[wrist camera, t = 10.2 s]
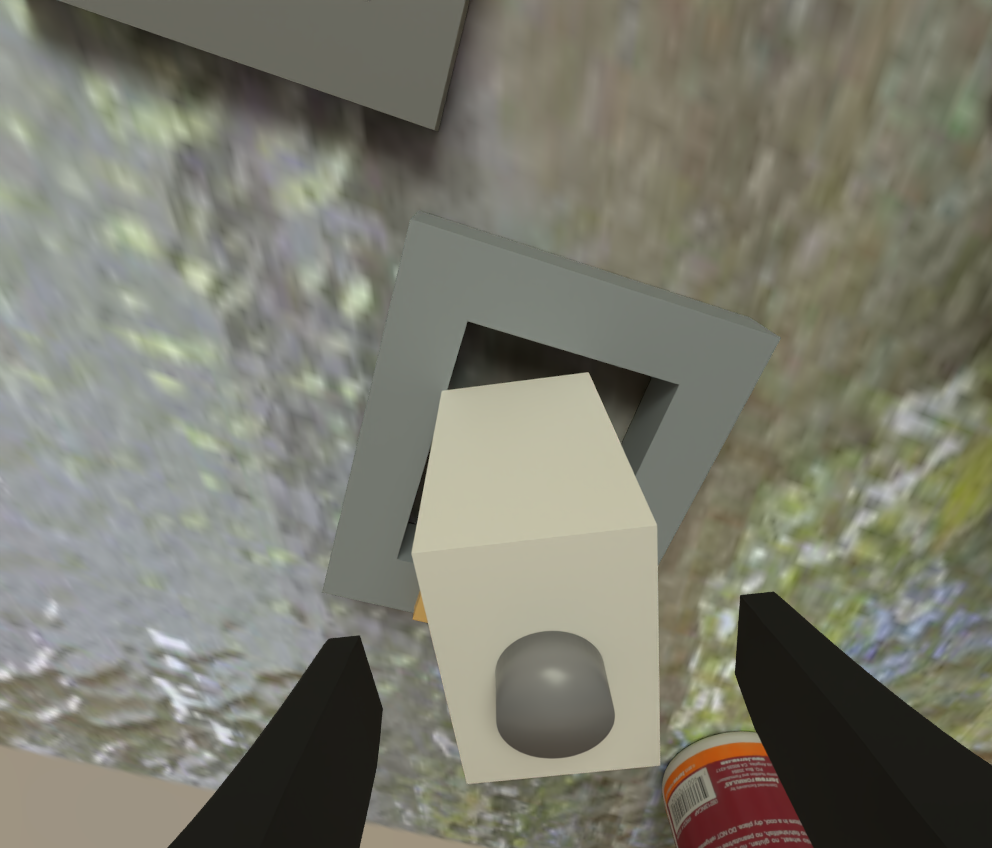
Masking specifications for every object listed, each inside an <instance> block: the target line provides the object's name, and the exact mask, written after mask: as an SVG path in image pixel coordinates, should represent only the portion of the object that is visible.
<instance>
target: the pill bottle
mask: <svg viewBox="0 0 992 848" xmlns="http://www.w3.org/2000/svg"><path fill="white" fill-rule="evenodd" d="M662 794H663V799H664V804H665V808H666V812H667V816H668V820H669V823H670V826H671V830H672V834H673V838H674V841H675V845H676V848H813V846H812V844H811V842H810V840H809V838H808V836H807V834H806V832H805V830H804V828H803V826H802V824H801V822H800V820H799V818H798V816H797V814H796V812H795V810H794V808H793V806H792V804H791V802H790V800H789V798H788V796H787V794H786V792H785V790H784V788H783V785H782V783H781V781H780V779H779V777H778V775H777V773H776V771H775V769H774V767H773V765H772V763H771V761H770V759H769V757H768V755H767V753H766V751H765V749H764V747H763V745H762V743H761V741H760V738H759V736H758V734H757V733H756V732H748V731H739V732H727V733H722V734H717V735H713V736H710V737H707V738H704V739H702V740H699V741H697V742H695V743H693V744H691V745H690V746H688V747H686V748H685V749H683V750H682V751H681V752H680V753H678V754H677V755H676V756H675V757H674V758H673V759H672V761H671V762H670V763H669V765H668V766H667V768H666V770H665V773H664V777H663V782H662Z"/></svg>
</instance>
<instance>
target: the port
mask: <svg viewBox="0 0 992 848" xmlns="http://www.w3.org/2000/svg"><path fill="white" fill-rule="evenodd" d="M467 321H468V322H472V323H475V324H478V325H482V326H485V327H488V328H492V329H495V330H498V331H502V332H505V333H508V334H512V335H515V336H518V337H522V338H525V339H528V340H532V341H535V342H538V343H542V344H545V345H548V346H552V347H555V348H558V349H562V350H565V351H568V352H572V353H575V354H578V355H582V356H585V357H588V358H592V359H595V360H598V361H602V362H605V363H608V364H612V365H615V366H618V367H622V368H625V369H628V370H632V371H635V372H638V373H642V374H645V375H648V376H652V378H651V380H650V383H649V385H648V387H647V389H646V391H645V394H644V396H643V398H642V400H641V402H640V405H639V407H638V409H637V411H636V413H635V416H634V418H633V420H632V422H631V424H630V427H629V429H628V431H627V433H626V435H625V438H624V440H623V442H622V444H621V446H622V448H623V450H624V452H625V455H626V457H627V459H628V461H629V464H630V466H631V468H632V470H633V472H634V475H635V477H636V479H637V481H638V484H639V486H640V488H641V490H642V493H643V495H644V497H645V499H646V502H647V504H648V506H649V508H650V510H651V513H652V515H653V517H654V519H655V522H656V524H657V549H658V565H659V563H660V561H661V559H662V557H663V555H664V554H665V552H666V550H667V548H668V546H669V544H670V542H671V541H672V539H673V537H674V535H675V533H676V531H677V529H678V528H679V526H680V524H681V522H682V520H683V518H684V516H685V515H686V513H687V511H688V509H689V507H690V505H691V504H692V502H693V500H694V498H695V496H696V494H697V492H698V491H699V489H700V487H701V485H702V483H703V481H704V479H705V478H706V476H707V474H708V472H709V470H710V468H711V466H712V465H713V463H714V461H715V459H716V457H717V455H718V453H719V452H720V450H721V448H722V446H723V444H724V442H725V441H726V439H727V437H728V435H729V433H730V431H731V429H732V428H733V426H734V424H735V422H736V420H737V418H738V416H739V415H740V413H741V411H742V409H743V407H744V405H745V403H746V402H747V400H748V398H749V396H750V394H751V392H752V390H753V389H754V387H755V385H756V383H757V381H758V379H759V378H760V376H761V374H762V372H763V370H764V368H765V366H766V365H767V363H768V361H769V359H770V357H771V355H772V353H773V352H774V350H775V348H776V346H777V344H778V342H779V340H780V339H781V338H780V337H779V336H777V335H776V334H774V333H773V332H771V331H770V330H768V329H767V328H765V327H764V326H762V325H761V324H759V323H757V322H756V321H754V320H753V319H751V318H750V317H747V316H743V315H740V314H737V313H734V312H731V311H728V310H725V309H722V308H719V307H716V306H713V305H709V304H706V303H703V302H700V301H697V300H694V299H691V298H688V297H685V296H682V295H679V294H675V293H672V292H669V291H666V290H663V289H660V288H657V287H654V286H651V285H648V284H645V283H641V282H638V281H635V280H632V279H629V278H626V277H623V276H620V275H617V274H614V273H611V272H607V271H604V270H601V269H598V268H595V267H592V266H589V265H586V264H583V263H580V262H577V261H574V260H570V259H567V258H564V257H561V256H558V255H555V254H552V253H549V252H546V251H543V250H540V249H536V248H533V247H530V246H527V245H524V244H521V243H518V242H515V241H512V240H509V239H506V238H502V237H499V236H496V235H493V234H490V233H487V232H484V231H481V230H478V229H475V228H472V227H468V226H465V225H462V224H459V223H456V222H453V221H450V220H447V219H444V218H441V217H438V216H434V215H431V214H428V213H425V212H422V211H418V212H417V213H416V214H415V215H414V216H413V217H412V218H411V219H410V223H409V227H408V231H407V235H406V239H405V244H404V248H403V252H402V256H401V261H400V265H399V269H398V273H397V278H396V282H395V286H394V290H393V295H392V299H391V303H390V307H389V311H388V316H387V320H386V324H385V328H384V333H383V337H382V341H381V345H380V350H379V354H378V358H377V362H376V367H375V371H374V375H373V379H372V383H371V388H370V392H369V396H368V400H367V405H366V409H365V413H364V417H363V422H362V426H361V430H360V434H359V439H358V443H357V447H356V451H355V455H354V460H353V464H352V468H351V472H350V477H349V481H348V485H347V489H346V494H345V498H344V502H343V506H342V511H341V515H340V519H339V523H338V527H337V532H336V536H335V540H334V544H333V549H332V553H331V557H330V561H329V566H328V570H327V574H326V578H325V583H324V587H323V591H322V593H326V594H331V595H335V596H340V597H344V598H349V599H353V600H358V601H362V602H367V603H371V604H376V605H380V606H385V607H389V608H393V609H398V610H402V611H407V612H411V613H414V614H413V620H417V621H421V622H426V623H428V621H427V616H426V612H425V608H424V604H423V600H422V596H421V591H420V587H419V583H418V579H417V575H416V571H415V567H414V562H413V558H412V554H411V553H412V548H413V542H414V537H415V531H416V526H417V525H414V524H410V523H408V520H409V516H410V513H411V510H412V506H413V503H414V500H415V496H416V493H417V490H418V486H419V483H420V479H421V476H422V473H423V469H424V466H425V463H426V459H427V456H428V453H429V449H430V446H431V442H432V439H433V435H434V430H435V425H436V419H437V414H438V409H439V403H440V398H441V393H442V391H444V390H447V389H448V385H449V382H450V379H451V375H452V372H453V368H454V365H455V362H456V358H457V355H458V352H459V348H460V345H461V342H462V338H463V335H464V331H465V328H466V325H467Z"/></svg>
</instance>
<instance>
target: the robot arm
mask: <svg viewBox="0 0 992 848" xmlns="http://www.w3.org/2000/svg"><path fill="white" fill-rule="evenodd" d="M735 675H736V678H737V681H738V684H739V687H740V689H741V692H742V695H743V698H744V701H745V704H746V706H747V709H748V712H749V714H750V717H751V720H752V722H753V725H754V728H755V730H756V732H757V734H758V736H759V738H760V741H761V743H762V745H763V747H764V749H765V751H766V753H767V755H768V757H769V759H770V761H771V763H772V765H773V767H774V769H775V771H776V773H777V775H778V777H779V779H780V781H781V783H782V785H783V788H784V790H785V792H786V794H787V796H788V798H789V800H790V802H791V804H792V806H793V808H794V810H795V812H796V814H797V816H798V818H799V820H800V822H801V824H802V826H803V828H804V830H805V832H806V834H807V836H808V838H809V840H810V842H811V844H812V846H813V848H992V765H991V764H989V763H988V762H986V761H985V760H983V759H982V758H980V757H979V756H977V755H976V754H974V753H973V752H971V751H970V750H969V749H967V748H966V747H964V746H963V745H961V744H960V743H959V742H957V741H956V740H954V739H953V738H952V737H950V736H949V735H948V734H946V733H945V732H943V731H942V730H941V729H940V728H938V727H937V726H936V725H934V724H933V723H932V722H930V721H929V720H928V719H926V718H925V717H924V716H922V715H921V714H920V713H918V712H917V711H916V710H914V709H913V708H912V707H910V706H909V705H908V704H907V703H905V702H904V701H903V700H901V699H900V698H899V697H898V696H896V695H895V694H894V693H893V692H891V691H890V690H889V689H888V688H886V687H885V686H884V685H883V684H881V683H880V682H879V681H878V680H877V679H875V678H874V677H873V676H872V675H870V674H869V673H868V672H867V671H866V670H864V669H863V668H862V667H861V666H859V665H858V664H857V663H856V662H855V661H853V660H852V659H851V658H850V657H849V656H847V655H846V654H845V653H844V652H843V651H841V650H840V649H839V648H838V647H837V646H836V645H835V644H833V643H832V642H831V641H830V640H829V639H828V638H826V637H825V636H824V635H823V634H822V633H821V632H819V631H818V630H817V629H816V628H815V627H814V626H813V625H811V624H810V623H809V622H808V621H807V620H806V619H805V618H804V617H802V616H801V615H800V614H799V613H798V612H797V611H796V610H794V609H793V608H792V607H791V606H790V605H789V604H788V603H786V602H785V601H784V600H783V599H782V598H781V597H780V596H778V595H777V594H776V593H775V592H766V593H756V594H747V595H740V606H739V621H738V636H737V651H736V665H735ZM382 711H383V708H382V705H381V702H380V698H379V695H378V692H377V689H376V686H375V682H374V679H373V676H372V673H371V670H370V666H369V663H368V660H367V657H366V654H365V651H364V647H363V644H362V641H361V638H360V635H359V636H350V637H340V638H331V639H328V640H327V641H326V643H325V644H324V645H323V647H322V648H321V650H320V651H319V652H318V654H317V655H316V657H315V658H314V660H313V661H312V663H311V664H310V666H309V667H308V668H307V670H306V671H305V673H304V674H303V676H302V677H301V679H300V680H299V681H298V683H297V684H296V686H295V687H294V689H293V690H292V692H291V693H290V694H289V696H288V697H287V699H286V700H285V701H284V703H283V704H282V706H281V707H280V708H279V710H278V711H277V713H276V714H275V715H274V717H273V718H272V719H271V721H270V722H269V724H268V725H267V726H266V728H265V729H264V730H263V732H262V733H261V734H260V736H259V737H258V739H257V740H256V741H255V743H254V744H253V745H252V747H251V748H250V749H249V751H248V752H247V753H246V754H245V756H244V757H243V758H242V759H241V761H240V762H239V763H238V764H237V766H236V767H235V768H234V770H233V771H232V772H231V773H230V775H229V776H228V777H227V778H226V780H225V781H224V782H223V783H222V785H221V786H220V787H219V788H218V790H217V791H216V792H215V793H214V795H213V796H212V797H211V798H210V799H209V801H208V802H207V803H206V805H204V807H203V808H202V809H201V810H200V811H199V813H198V814H197V815H196V816H195V817H194V818H193V820H192V821H191V822H190V823H189V824H188V825H187V827H186V828H185V829H184V830H183V831H182V832H181V833H180V834H179V835H178V837H177V838H176V839H175V840H174V841H173V842H172V843H171V844H170V845H169V847H168V848H360V843H361V838H362V834H363V829H364V825H365V820H366V816H367V811H368V806H369V801H370V797H371V792H372V787H373V782H374V778H375V773H376V768H377V761H378V752H379V743H380V733H381V722H382Z"/></svg>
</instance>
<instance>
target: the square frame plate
mask: <svg viewBox="0 0 992 848" xmlns="http://www.w3.org/2000/svg"><path fill="white" fill-rule="evenodd" d="M58 1H61V2H64V3H67V4H70V5H73V6H76V7H78V8H81V9H84V10H87V11H90V12H93V13H96V14H99V15H102V16H105V17H107V18H110V19H113V20H116V21H119V22H122V23H125V24H128V25H131V26H134V27H136V28H139V29H142V30H145V31H148V32H151V33H154V34H157V35H160V36H163V37H165V38H168V39H171V40H174V41H177V42H180V43H183V44H186V45H189V46H192V47H194V48H197V49H200V50H203V51H206V52H209V53H212V54H215V55H218V56H221V57H223V58H226V59H229V60H232V61H235V62H238V63H241V64H244V65H247V66H250V67H252V68H255V69H258V70H261V71H264V72H267V73H270V74H273V75H276V76H279V77H281V78H284V79H287V80H290V81H293V82H296V83H299V84H302V85H305V86H308V87H310V88H313V89H316V90H319V91H322V92H325V93H328V94H331V95H334V96H337V97H339V98H342V99H345V100H348V101H351V102H354V103H357V104H360V105H363V106H366V107H368V108H371V109H374V110H377V111H380V112H383V113H386V114H389V115H392V116H395V117H397V118H400V119H403V120H406V121H409V122H412V123H415V124H418V125H421V126H424V127H426V128H429V129H432V130H435V131H439V127H440V122H441V118H442V114H443V110H444V106H445V102H446V97H447V93H448V89H449V85H450V81H451V77H452V73H453V68H454V64H455V60H456V56H457V52H458V48H459V43H460V39H461V35H462V31H463V27H464V23H465V19H466V14H467V10H468V6H469V2H470V0H369V2H368V1H366V0H58Z"/></svg>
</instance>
